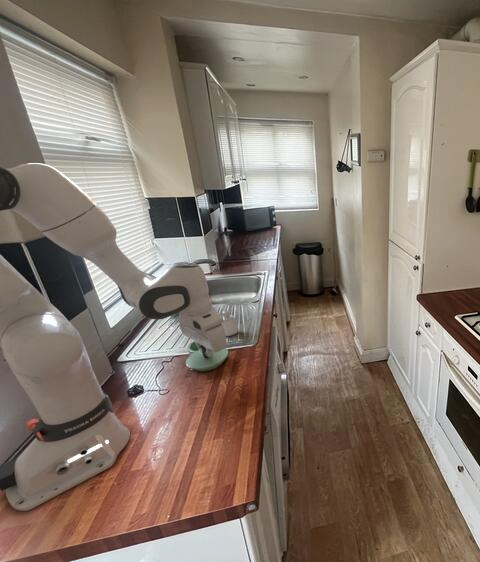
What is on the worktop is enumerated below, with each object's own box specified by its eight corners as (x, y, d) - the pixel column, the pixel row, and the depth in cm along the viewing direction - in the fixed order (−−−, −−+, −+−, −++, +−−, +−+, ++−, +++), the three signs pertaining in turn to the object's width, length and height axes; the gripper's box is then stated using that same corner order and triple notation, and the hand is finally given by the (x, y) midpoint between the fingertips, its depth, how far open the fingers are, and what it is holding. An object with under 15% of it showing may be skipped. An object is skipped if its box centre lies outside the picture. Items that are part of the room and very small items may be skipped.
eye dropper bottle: (235, 336, 129) (230, 310, 124) (222, 337, 128) (215, 311, 124) (238, 330, 133) (233, 305, 128) (225, 331, 132) (219, 306, 128)
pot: (203, 375, 105) (197, 355, 102) (188, 365, 111) (181, 346, 108) (231, 360, 113) (226, 340, 110) (215, 351, 119) (210, 332, 115)
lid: (199, 376, 89) (195, 361, 88) (178, 362, 96) (175, 348, 94) (236, 355, 99) (233, 342, 97) (215, 344, 105) (212, 331, 103)
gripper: (169, 310, 94) (179, 348, 99) (205, 328, 84) (214, 369, 89) (190, 302, 99) (199, 339, 104) (226, 318, 89) (234, 359, 94)
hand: (206, 353), depth 96 cm, fingers closed on lid, 2 cm apart
